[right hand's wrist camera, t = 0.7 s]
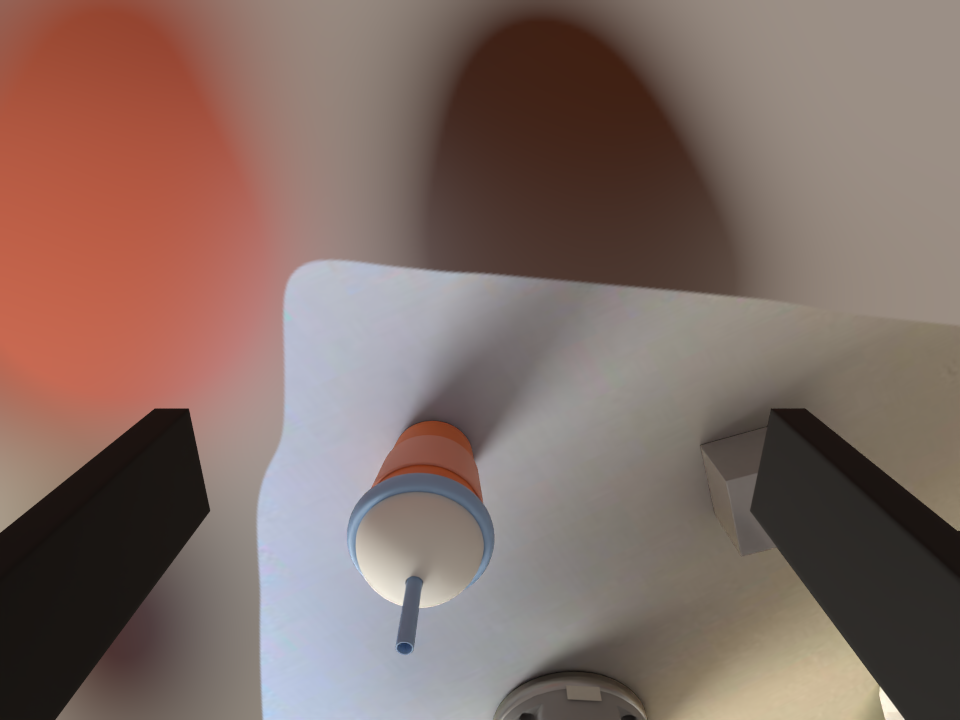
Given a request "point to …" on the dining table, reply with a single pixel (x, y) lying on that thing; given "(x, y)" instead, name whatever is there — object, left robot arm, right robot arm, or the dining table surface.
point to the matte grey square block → (737, 488)
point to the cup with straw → (422, 524)
